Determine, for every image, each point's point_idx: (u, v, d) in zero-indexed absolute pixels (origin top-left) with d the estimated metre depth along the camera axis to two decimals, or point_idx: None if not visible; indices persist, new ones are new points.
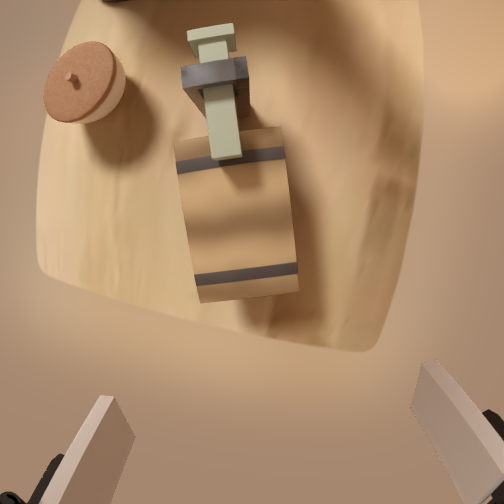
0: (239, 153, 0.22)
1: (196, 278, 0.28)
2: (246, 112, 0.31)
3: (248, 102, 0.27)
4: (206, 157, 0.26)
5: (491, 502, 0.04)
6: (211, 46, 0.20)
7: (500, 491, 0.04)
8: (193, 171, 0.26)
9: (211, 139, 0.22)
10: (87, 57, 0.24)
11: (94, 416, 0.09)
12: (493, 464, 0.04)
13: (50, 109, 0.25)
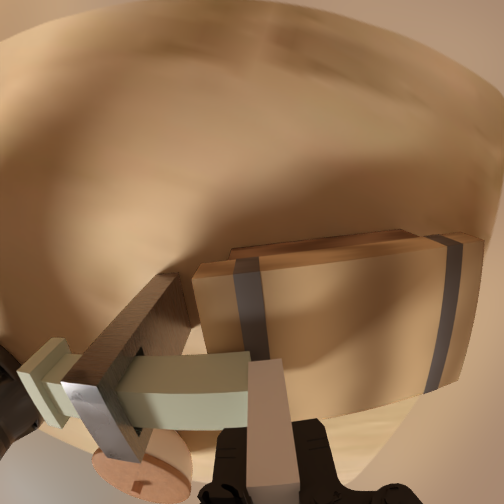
0: (247, 393, 0.11)
1: (429, 390, 0.15)
2: (173, 286, 0.21)
3: (153, 308, 0.17)
4: None
5: None
6: (60, 401, 0.11)
7: None
8: None
9: (219, 427, 0.11)
10: (111, 470, 0.20)
11: (255, 380, 0.11)
12: None
13: (174, 501, 0.21)
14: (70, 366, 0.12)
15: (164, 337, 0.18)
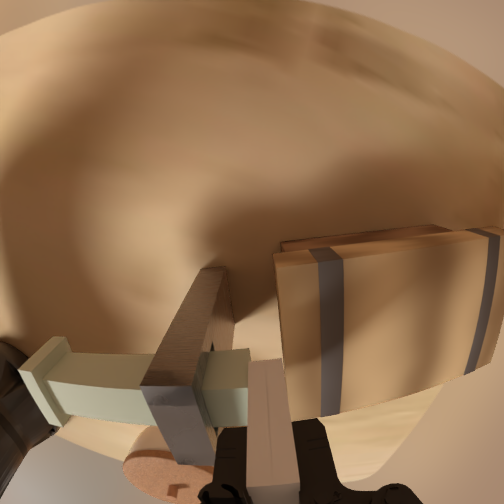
0: (247, 389, 0.11)
1: (468, 372, 0.15)
2: (223, 279, 0.21)
3: (215, 301, 0.17)
4: (323, 383, 0.15)
5: None
6: (61, 399, 0.11)
7: None
8: (340, 396, 0.15)
9: (220, 424, 0.11)
10: (145, 475, 0.20)
11: (255, 380, 0.11)
12: None
13: None
14: (71, 364, 0.13)
15: (223, 331, 0.18)
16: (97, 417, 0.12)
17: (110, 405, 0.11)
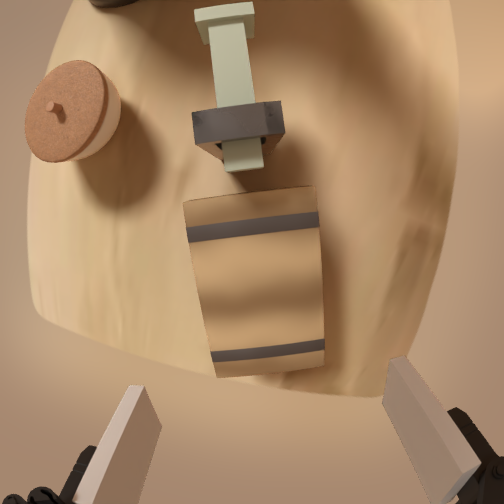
0: (261, 165, 0.17)
1: (212, 355, 0.25)
2: (267, 152, 0.28)
3: (273, 147, 0.23)
4: (224, 223, 0.22)
5: None
6: (225, 28, 0.15)
7: (465, 494, 0.04)
8: (208, 240, 0.22)
9: (225, 146, 0.17)
10: (73, 81, 0.20)
11: (125, 405, 0.10)
12: (453, 463, 0.05)
13: (32, 145, 0.21)
14: None
15: None
16: (213, 54, 0.16)
17: (232, 69, 0.16)
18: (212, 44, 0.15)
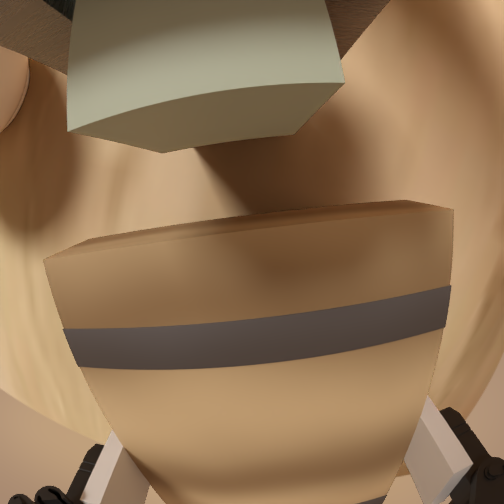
0: (325, 75, 0.02)
1: None
2: None
3: None
4: (160, 331, 0.06)
5: None
6: None
7: (457, 494, 0.05)
8: (123, 368, 0.07)
9: None
10: None
11: None
12: (445, 462, 0.05)
13: None
14: None
15: None
16: None
17: None
18: None
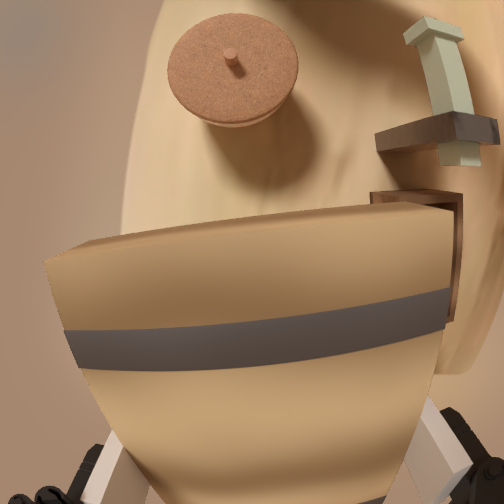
0: (479, 165, 0.16)
1: None
2: (420, 150, 0.26)
3: None
4: (161, 333, 0.06)
5: None
6: (446, 43, 0.14)
7: (457, 494, 0.05)
8: (124, 370, 0.07)
9: (460, 144, 0.16)
10: (251, 35, 0.19)
11: None
12: (445, 462, 0.05)
13: (186, 97, 0.20)
14: None
15: (426, 147, 0.22)
16: (444, 63, 0.14)
17: (458, 80, 0.15)
18: (441, 53, 0.14)
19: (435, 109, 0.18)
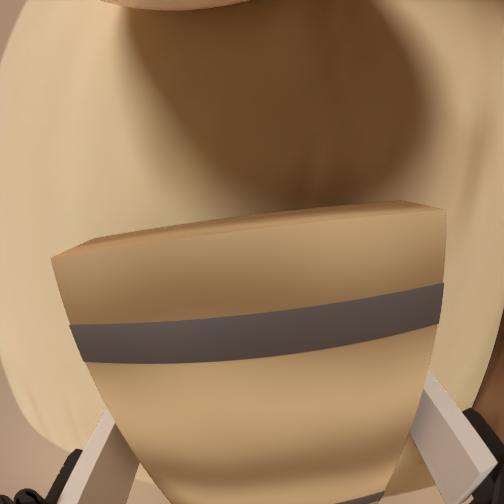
0: None
1: None
2: None
3: None
4: (164, 326, 0.07)
5: (472, 503, 0.04)
6: None
7: (480, 492, 0.04)
8: (128, 363, 0.07)
9: None
10: None
11: None
12: (470, 463, 0.05)
13: None
14: None
15: None
16: None
17: None
18: None
19: None
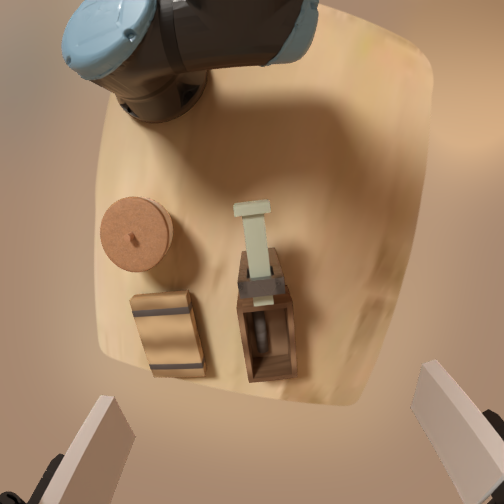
0: (272, 303, 0.35)
1: (150, 366, 0.48)
2: None
3: None
4: (147, 310, 0.45)
5: (491, 502, 0.04)
6: (252, 221, 0.32)
7: (500, 491, 0.04)
8: (141, 316, 0.45)
9: None
10: (140, 217, 0.37)
11: (94, 416, 0.09)
12: (493, 464, 0.04)
13: (112, 257, 0.39)
14: None
15: None
16: (246, 240, 0.33)
17: (257, 250, 0.33)
18: (245, 232, 0.33)
19: None
